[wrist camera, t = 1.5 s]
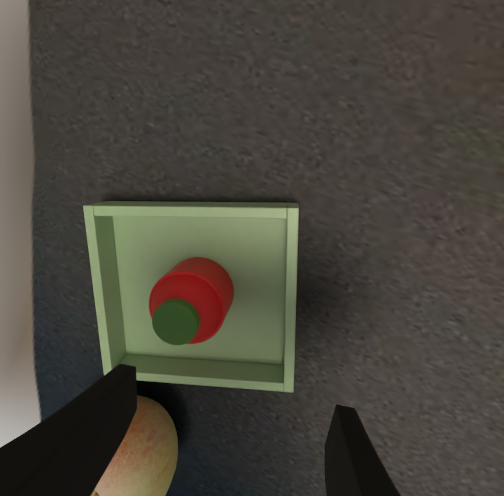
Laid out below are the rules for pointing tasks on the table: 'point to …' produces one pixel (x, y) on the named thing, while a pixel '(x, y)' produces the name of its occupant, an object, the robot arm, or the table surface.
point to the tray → (189, 246)
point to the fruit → (143, 455)
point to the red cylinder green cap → (191, 301)
